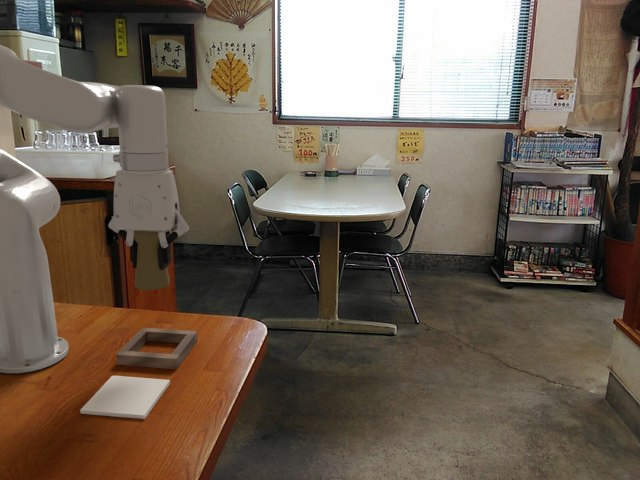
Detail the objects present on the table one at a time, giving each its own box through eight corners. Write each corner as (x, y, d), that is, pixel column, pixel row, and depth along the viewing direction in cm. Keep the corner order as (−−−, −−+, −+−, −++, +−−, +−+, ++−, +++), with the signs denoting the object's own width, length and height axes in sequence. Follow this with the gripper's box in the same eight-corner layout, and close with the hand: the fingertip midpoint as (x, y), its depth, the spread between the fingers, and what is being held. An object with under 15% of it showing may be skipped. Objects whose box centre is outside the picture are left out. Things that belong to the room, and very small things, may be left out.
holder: (116, 364, 93) (115, 354, 93) (143, 336, 104) (142, 327, 103) (177, 369, 92) (176, 358, 92) (197, 340, 103) (197, 331, 102)
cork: (160, 291, 90) (156, 229, 87) (127, 288, 91) (123, 226, 88) (176, 279, 96) (173, 221, 93) (145, 276, 97) (141, 218, 94)
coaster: (80, 413, 79) (80, 410, 79) (112, 378, 89) (112, 375, 89) (144, 418, 78) (144, 415, 78) (170, 383, 88) (170, 379, 88)
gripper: (84, 163, 85) (94, 270, 90) (186, 167, 84) (190, 276, 89) (107, 157, 92) (115, 257, 97) (201, 161, 91) (204, 262, 96)
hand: (151, 265), depth 93 cm, fingers closed on cork, 4 cm apart
